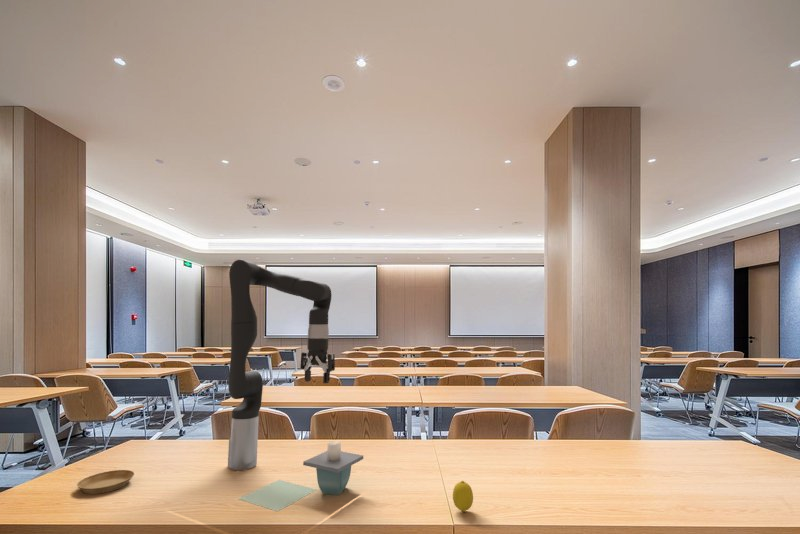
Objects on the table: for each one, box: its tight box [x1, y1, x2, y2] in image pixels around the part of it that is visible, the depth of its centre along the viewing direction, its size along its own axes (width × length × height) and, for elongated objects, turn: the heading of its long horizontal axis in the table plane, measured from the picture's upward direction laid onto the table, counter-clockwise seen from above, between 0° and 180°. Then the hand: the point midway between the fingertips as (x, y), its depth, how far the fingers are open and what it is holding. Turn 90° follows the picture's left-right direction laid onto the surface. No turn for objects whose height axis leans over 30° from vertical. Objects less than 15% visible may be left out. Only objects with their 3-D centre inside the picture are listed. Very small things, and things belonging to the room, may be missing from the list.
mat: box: [238, 479, 318, 512], centre depth 119 cm, size 16×16×1 cm
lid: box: [302, 441, 364, 473], centre depth 123 cm, size 13×13×5 cm
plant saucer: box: [76, 469, 135, 495], centre depth 127 cm, size 15×15×3 cm
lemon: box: [452, 480, 474, 513], centre depth 109 cm, size 6×6×8 cm
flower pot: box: [315, 465, 352, 496], centre depth 122 cm, size 9×9×9 cm
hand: (316, 382), depth 144 cm, fingers open, 8 cm apart
